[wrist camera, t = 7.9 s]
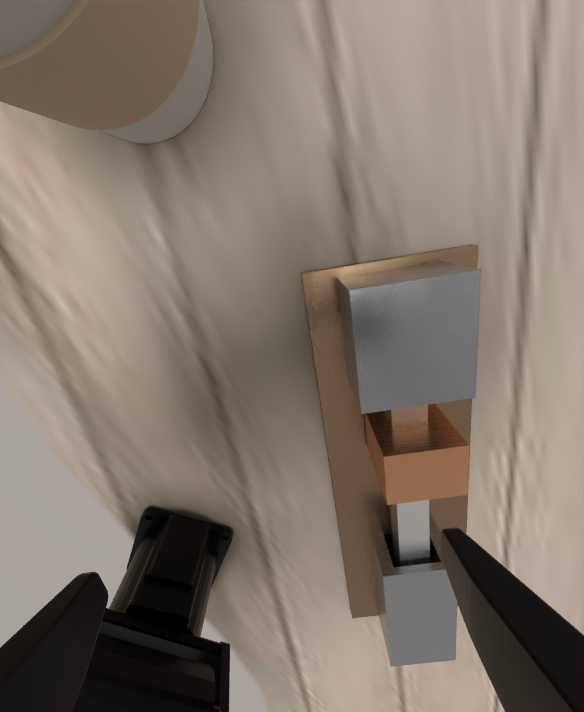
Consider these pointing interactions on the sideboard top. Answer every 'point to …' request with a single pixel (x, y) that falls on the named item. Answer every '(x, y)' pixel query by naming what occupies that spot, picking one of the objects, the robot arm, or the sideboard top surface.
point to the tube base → (387, 392)
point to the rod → (415, 471)
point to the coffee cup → (108, 63)
